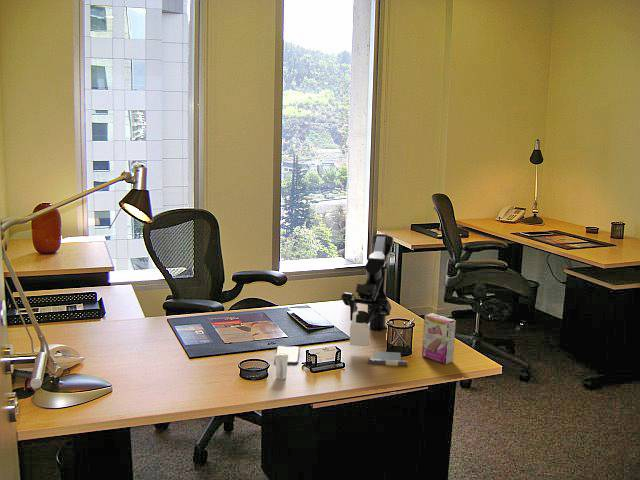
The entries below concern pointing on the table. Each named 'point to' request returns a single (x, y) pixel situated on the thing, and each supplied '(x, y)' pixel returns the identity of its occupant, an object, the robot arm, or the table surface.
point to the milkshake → (281, 364)
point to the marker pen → (387, 362)
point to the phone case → (290, 354)
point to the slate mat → (387, 355)
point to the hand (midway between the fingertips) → (358, 321)
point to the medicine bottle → (359, 329)
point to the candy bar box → (438, 338)
